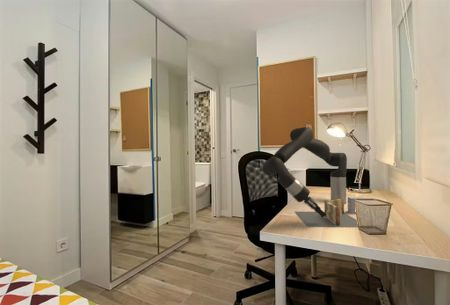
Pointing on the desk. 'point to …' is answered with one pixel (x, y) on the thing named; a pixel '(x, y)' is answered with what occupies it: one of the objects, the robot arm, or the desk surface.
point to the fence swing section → (333, 213)
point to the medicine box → (352, 204)
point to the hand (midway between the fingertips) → (323, 215)
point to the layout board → (325, 220)
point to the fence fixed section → (336, 204)
